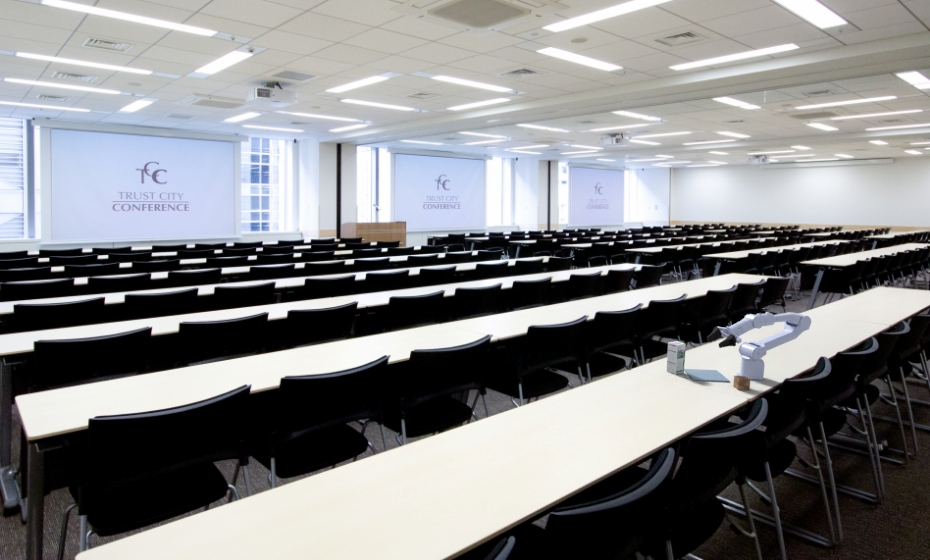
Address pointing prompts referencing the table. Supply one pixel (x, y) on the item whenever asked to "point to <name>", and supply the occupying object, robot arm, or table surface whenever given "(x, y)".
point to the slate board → (706, 375)
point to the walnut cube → (741, 383)
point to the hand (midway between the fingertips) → (713, 342)
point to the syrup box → (676, 357)
